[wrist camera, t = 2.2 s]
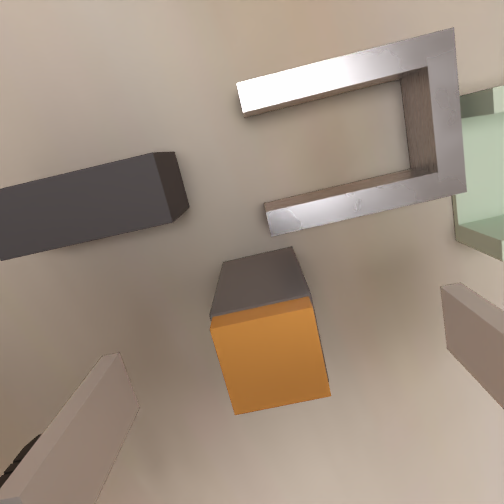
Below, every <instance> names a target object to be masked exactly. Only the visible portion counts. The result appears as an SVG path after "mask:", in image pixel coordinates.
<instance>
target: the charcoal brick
mask: <svg viewBox="0 0 504 504" xmlns="http://www.w3.org/2000/svg"><path fill="white" fill-rule="evenodd" d="M188 208H189V203H188V199H187V196H186V192H185V188H184V185H183V181H182V177H181V174H180V170H179V166H178V163H177V159H176V155H175V152H155V153H149V154H145V155H140V156H136V157H132V158H128V159H124V160H119V161H115V162H111V163H107V164H103V165H98V166H94V167H90V168H86V169H82V170H77V171H73V172H69V173H65V174H61V175H56V176H52V177H48V178H44V179H40V180H35V181H31V182H27V183H23V184H19V185H14V186H10V187H6V188H2V189H0V260H1V261H3V260H8V259H12V258H17V257H21V256H26V255H30V254H34V253H39V252H43V251H48V250H52V249H57V248H61V247H66V246H70V245H74V244H79V243H83V242H88V241H92V240H97V239H101V238H106V237H110V236H114V235H119V234H123V233H128V232H132V231H137V230H141V229H146V228H150V227H154V226H159V225H163V224H168V223H172V222H174V221H175V220H176V219H177V218H178V217H179V216H180V215H181V214H183V213H184V212H185V211H186V210H187V209H188Z"/></svg>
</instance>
